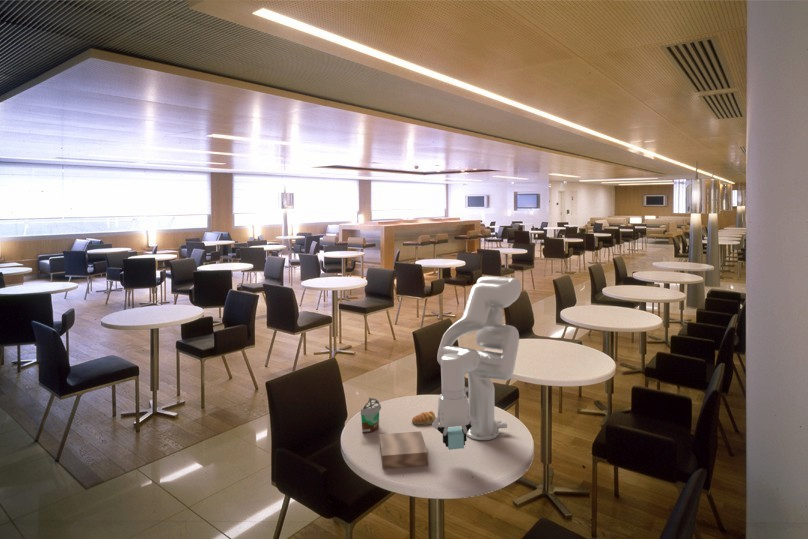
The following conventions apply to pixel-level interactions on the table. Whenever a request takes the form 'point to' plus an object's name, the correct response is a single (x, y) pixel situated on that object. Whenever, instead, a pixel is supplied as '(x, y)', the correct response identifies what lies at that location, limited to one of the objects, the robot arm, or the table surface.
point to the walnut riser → (403, 450)
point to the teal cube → (455, 438)
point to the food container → (370, 416)
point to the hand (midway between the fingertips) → (454, 443)
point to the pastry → (424, 418)
